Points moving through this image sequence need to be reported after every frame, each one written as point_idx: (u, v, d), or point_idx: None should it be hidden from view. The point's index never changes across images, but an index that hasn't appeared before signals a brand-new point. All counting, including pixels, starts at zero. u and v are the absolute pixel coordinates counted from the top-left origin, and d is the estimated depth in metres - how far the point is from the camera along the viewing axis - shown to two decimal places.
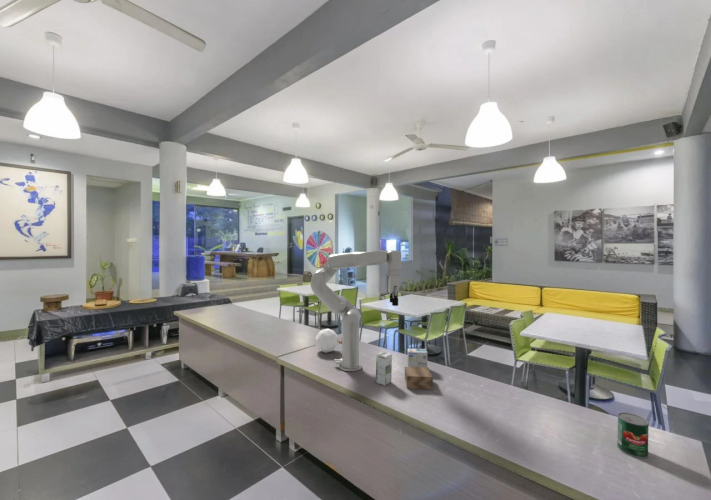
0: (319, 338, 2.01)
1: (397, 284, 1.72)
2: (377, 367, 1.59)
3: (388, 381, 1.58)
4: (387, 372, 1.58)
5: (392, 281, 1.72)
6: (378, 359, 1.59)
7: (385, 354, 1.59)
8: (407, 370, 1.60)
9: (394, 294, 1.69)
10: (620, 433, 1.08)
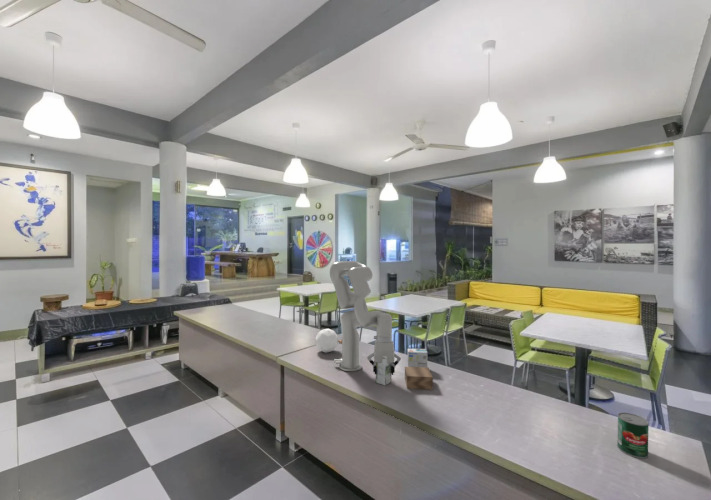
0: (319, 338, 2.01)
1: None
2: (377, 367, 1.59)
3: (388, 381, 1.58)
4: (387, 372, 1.58)
5: (393, 348, 1.58)
6: None
7: None
8: (407, 370, 1.60)
9: None
10: (620, 433, 1.08)
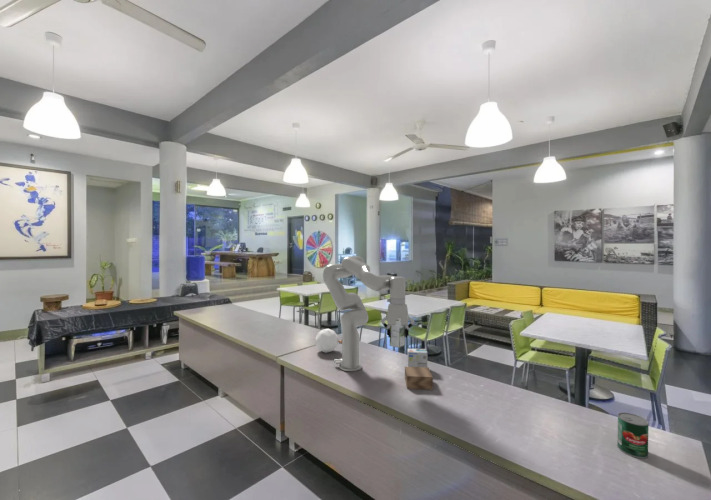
0: (319, 338, 2.01)
1: None
2: (391, 330, 1.58)
3: (402, 344, 1.58)
4: (401, 334, 1.57)
5: (407, 310, 1.57)
6: None
7: None
8: (407, 370, 1.60)
9: (412, 324, 1.58)
10: (620, 433, 1.08)
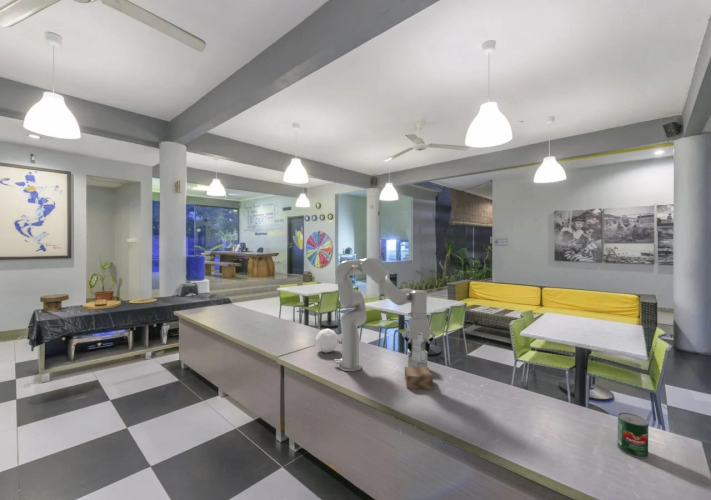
0: (319, 338, 2.01)
1: None
2: (412, 344, 1.58)
3: (423, 358, 1.57)
4: (423, 348, 1.57)
5: None
6: None
7: None
8: (407, 370, 1.60)
9: (433, 338, 1.58)
10: (620, 433, 1.08)
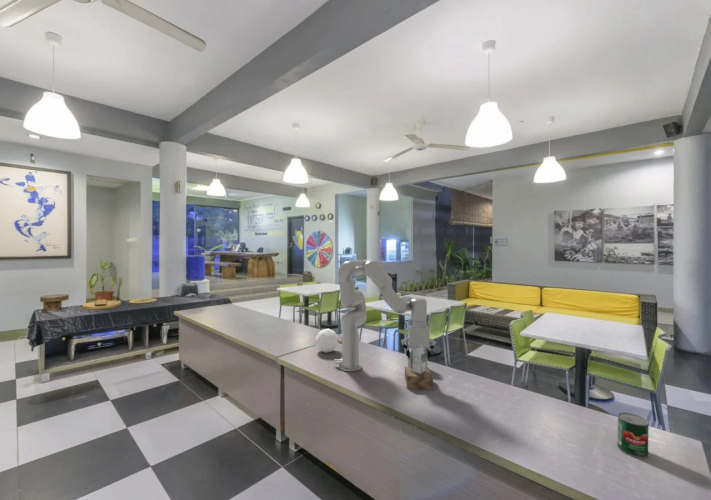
0: (319, 338, 2.01)
1: None
2: (412, 356, 1.58)
3: (423, 370, 1.57)
4: (423, 360, 1.57)
5: (428, 333, 1.57)
6: (413, 348, 1.58)
7: None
8: (407, 370, 1.60)
9: None
10: (620, 433, 1.08)
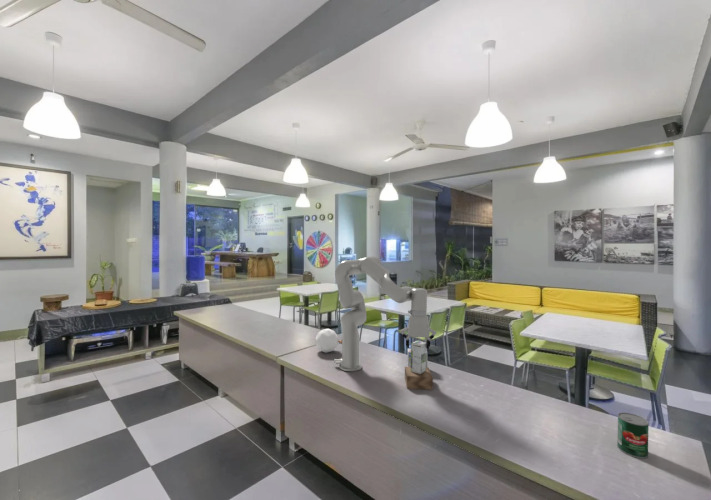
0: (319, 338, 2.01)
1: None
2: (412, 356, 1.58)
3: (423, 370, 1.57)
4: (423, 360, 1.57)
5: (428, 322, 1.57)
6: (413, 348, 1.58)
7: (420, 342, 1.59)
8: (407, 370, 1.60)
9: (433, 335, 1.58)
10: (620, 433, 1.08)
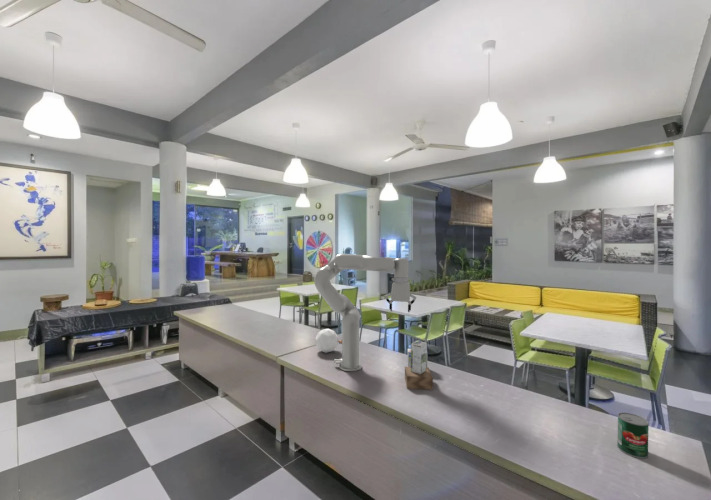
0: (319, 338, 2.01)
1: None
2: (412, 356, 1.58)
3: (423, 370, 1.57)
4: (423, 360, 1.57)
5: (409, 288, 1.75)
6: (413, 348, 1.58)
7: (420, 342, 1.58)
8: (407, 370, 1.60)
9: (414, 300, 1.76)
10: (620, 433, 1.08)
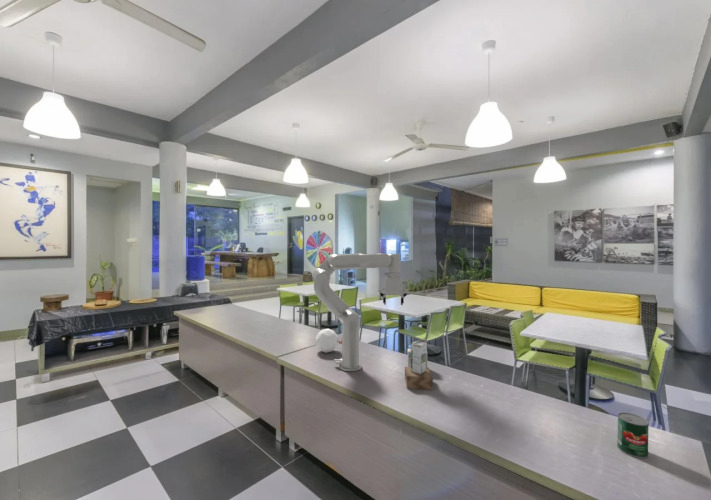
0: (319, 338, 2.01)
1: None
2: (412, 356, 1.58)
3: (423, 370, 1.57)
4: (423, 360, 1.57)
5: None
6: (413, 348, 1.58)
7: (420, 342, 1.58)
8: (407, 370, 1.60)
9: (406, 293, 1.84)
10: (620, 433, 1.08)
